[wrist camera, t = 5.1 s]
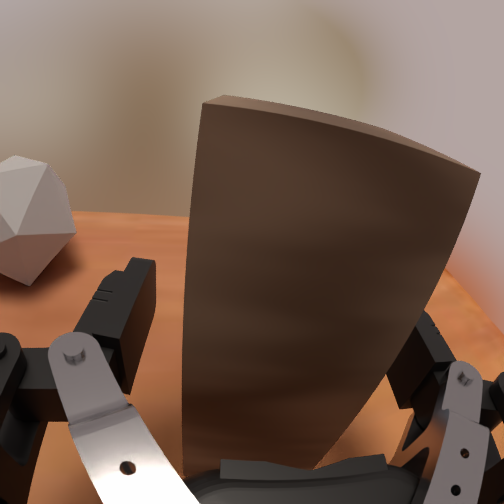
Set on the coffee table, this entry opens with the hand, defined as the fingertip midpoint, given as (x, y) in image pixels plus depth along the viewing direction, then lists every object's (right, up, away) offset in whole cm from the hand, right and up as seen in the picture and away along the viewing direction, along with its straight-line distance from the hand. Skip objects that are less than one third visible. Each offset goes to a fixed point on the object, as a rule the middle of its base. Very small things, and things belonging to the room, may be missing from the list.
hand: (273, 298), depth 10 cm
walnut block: (-1, -7, +2) cm, 7 cm away
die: (-18, 0, +10) cm, 21 cm away
